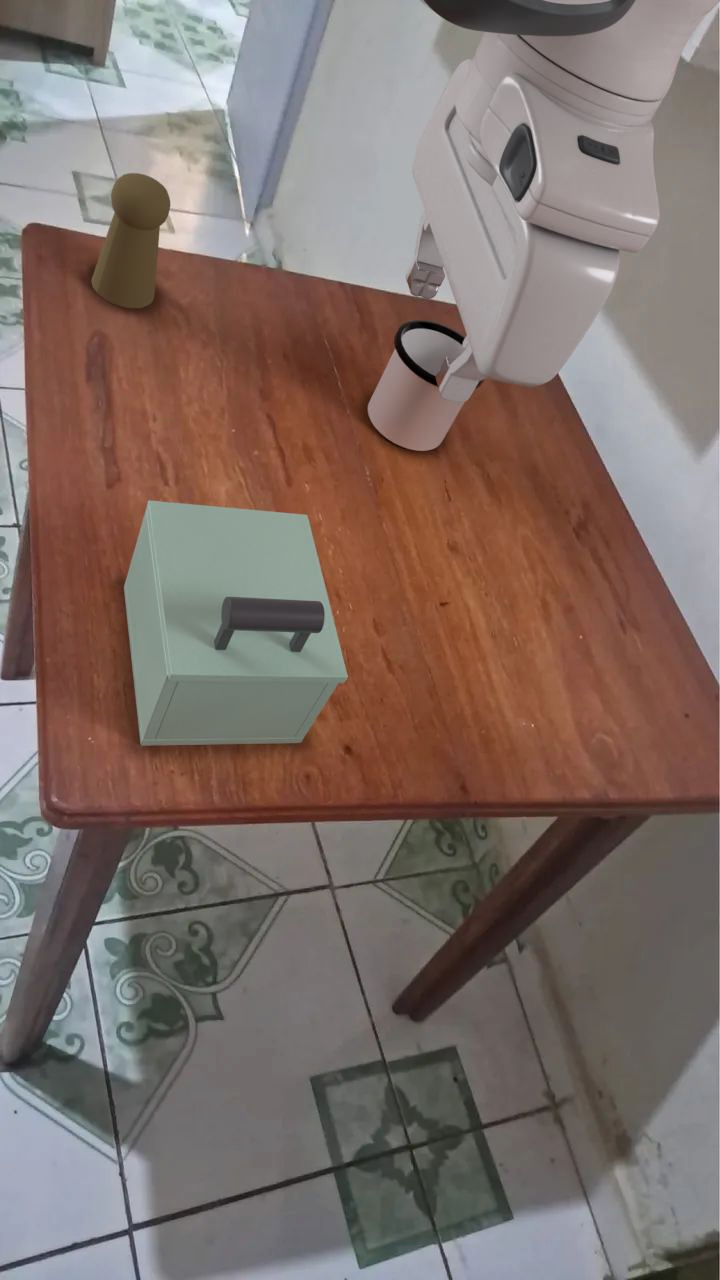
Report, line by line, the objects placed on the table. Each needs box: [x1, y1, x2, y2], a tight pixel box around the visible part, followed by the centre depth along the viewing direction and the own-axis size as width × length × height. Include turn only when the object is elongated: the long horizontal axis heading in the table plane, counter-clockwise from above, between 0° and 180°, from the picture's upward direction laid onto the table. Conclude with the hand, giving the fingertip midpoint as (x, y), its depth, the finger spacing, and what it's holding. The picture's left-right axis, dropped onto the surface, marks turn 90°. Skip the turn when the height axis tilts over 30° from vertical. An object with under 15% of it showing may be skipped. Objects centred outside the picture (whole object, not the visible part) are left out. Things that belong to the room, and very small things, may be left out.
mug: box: [367, 319, 485, 452], centre depth 94 cm, size 12×9×9 cm
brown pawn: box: [91, 172, 171, 309], centre depth 88 cm, size 6×6×11 cm
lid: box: [145, 500, 349, 684], centre depth 62 cm, size 14×12×5 cm
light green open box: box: [123, 509, 339, 747], centre depth 67 cm, size 14×12×9 cm
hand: (433, 339), depth 56 cm, fingers open, 8 cm apart
